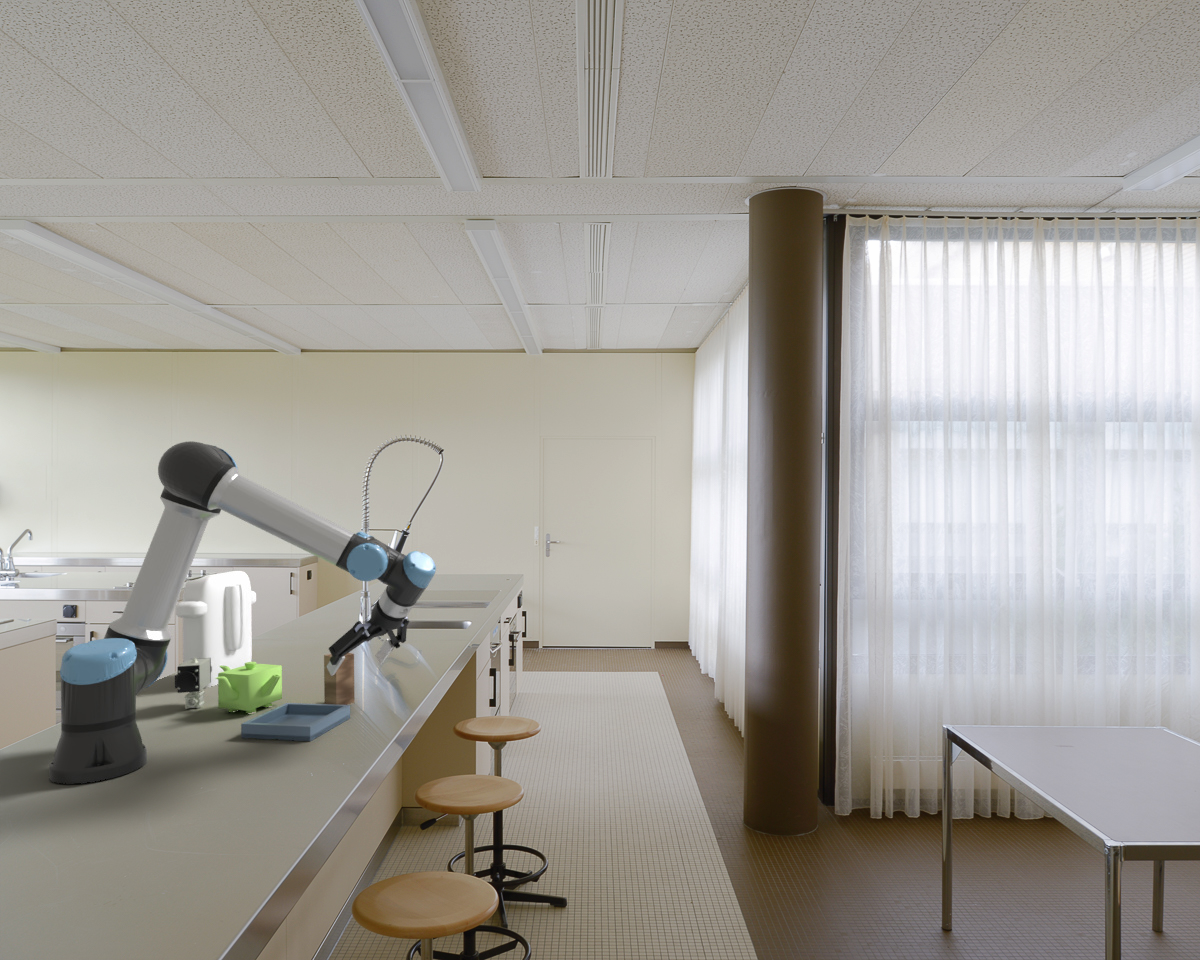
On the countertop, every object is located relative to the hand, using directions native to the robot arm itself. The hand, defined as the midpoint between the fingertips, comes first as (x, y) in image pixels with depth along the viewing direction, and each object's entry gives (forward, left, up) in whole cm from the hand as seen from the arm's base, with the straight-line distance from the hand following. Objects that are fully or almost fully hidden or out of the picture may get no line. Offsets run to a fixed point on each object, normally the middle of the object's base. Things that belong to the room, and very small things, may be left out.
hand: (355, 665), depth 178 cm
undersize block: (+2, +5, -10) cm, 11 cm away
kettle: (-5, +25, -10) cm, 28 cm away
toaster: (+21, +52, -10) cm, 57 cm away
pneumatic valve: (-5, +40, -10) cm, 42 cm away
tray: (-17, +4, -10) cm, 20 cm away
